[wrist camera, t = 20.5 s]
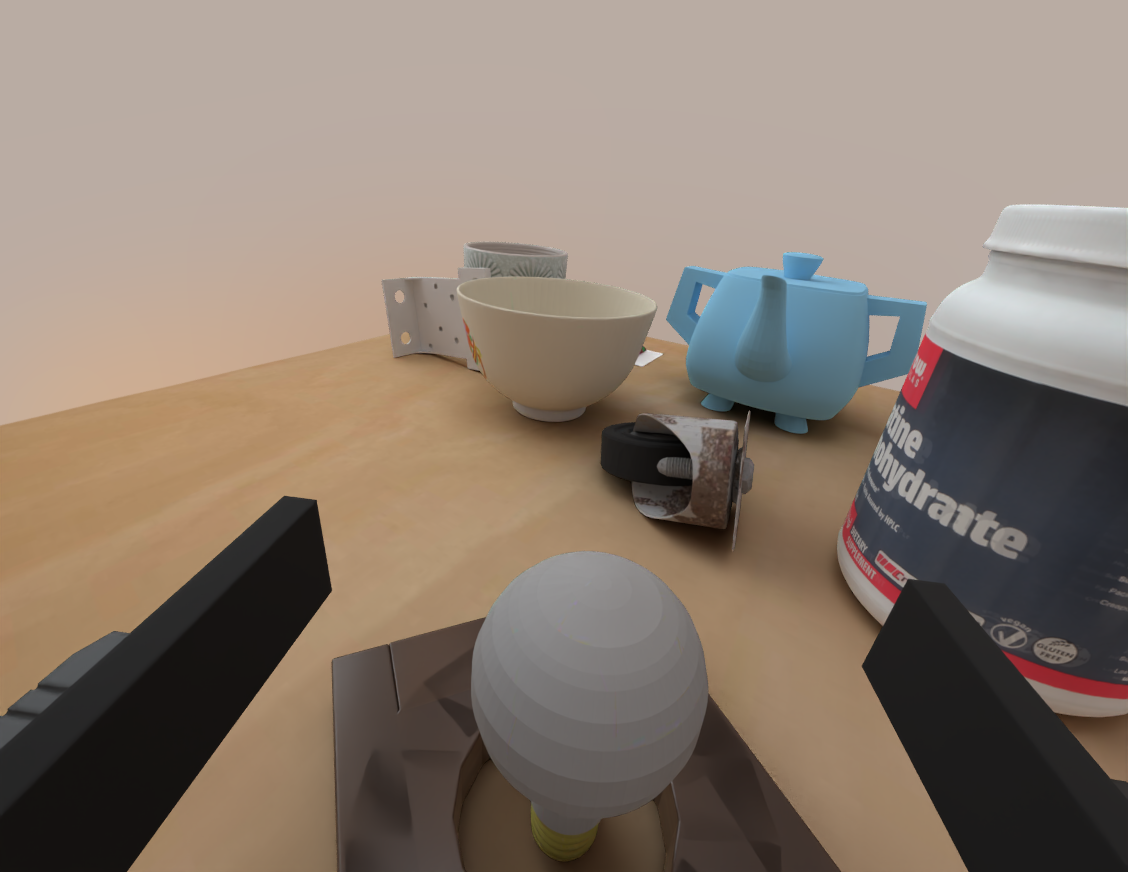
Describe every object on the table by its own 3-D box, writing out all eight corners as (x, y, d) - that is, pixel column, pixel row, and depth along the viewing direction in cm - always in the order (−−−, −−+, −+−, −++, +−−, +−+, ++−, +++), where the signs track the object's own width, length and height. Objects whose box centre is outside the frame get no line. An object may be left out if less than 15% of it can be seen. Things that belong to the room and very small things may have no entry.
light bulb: (441, 924, 13) (425, 663, 8) (501, 724, 18) (511, 492, 13) (650, 985, 12) (756, 738, 8) (653, 760, 17) (719, 528, 12)
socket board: (364, 1401, 8) (350, 1400, 7) (338, 695, 18) (331, 658, 17) (866, 977, 12) (896, 944, 12) (618, 611, 23) (624, 579, 22)
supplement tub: (783, 532, 30) (903, 197, 21) (968, 532, 31) (1145, 222, 23) (958, 748, 18) (1361, 209, 10) (1233, 729, 20) (1767, 258, 12)
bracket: (395, 366, 53) (379, 269, 49) (427, 358, 56) (415, 266, 52) (466, 381, 46) (455, 270, 43) (498, 371, 50) (490, 268, 46)
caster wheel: (617, 474, 39) (750, 492, 35) (565, 523, 29) (744, 555, 25) (621, 391, 38) (760, 401, 34) (568, 411, 27) (758, 428, 24)
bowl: (484, 369, 51) (485, 270, 47) (635, 387, 50) (651, 288, 46) (431, 435, 37) (426, 301, 32) (641, 461, 36) (665, 328, 32)
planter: (548, 358, 56) (555, 259, 52) (447, 343, 58) (445, 246, 53) (568, 333, 67) (576, 249, 63) (484, 321, 69) (485, 239, 64)
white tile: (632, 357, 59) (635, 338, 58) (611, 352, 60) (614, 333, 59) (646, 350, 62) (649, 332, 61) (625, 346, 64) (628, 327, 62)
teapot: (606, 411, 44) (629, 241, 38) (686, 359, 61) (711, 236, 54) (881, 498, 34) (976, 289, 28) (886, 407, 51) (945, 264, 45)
